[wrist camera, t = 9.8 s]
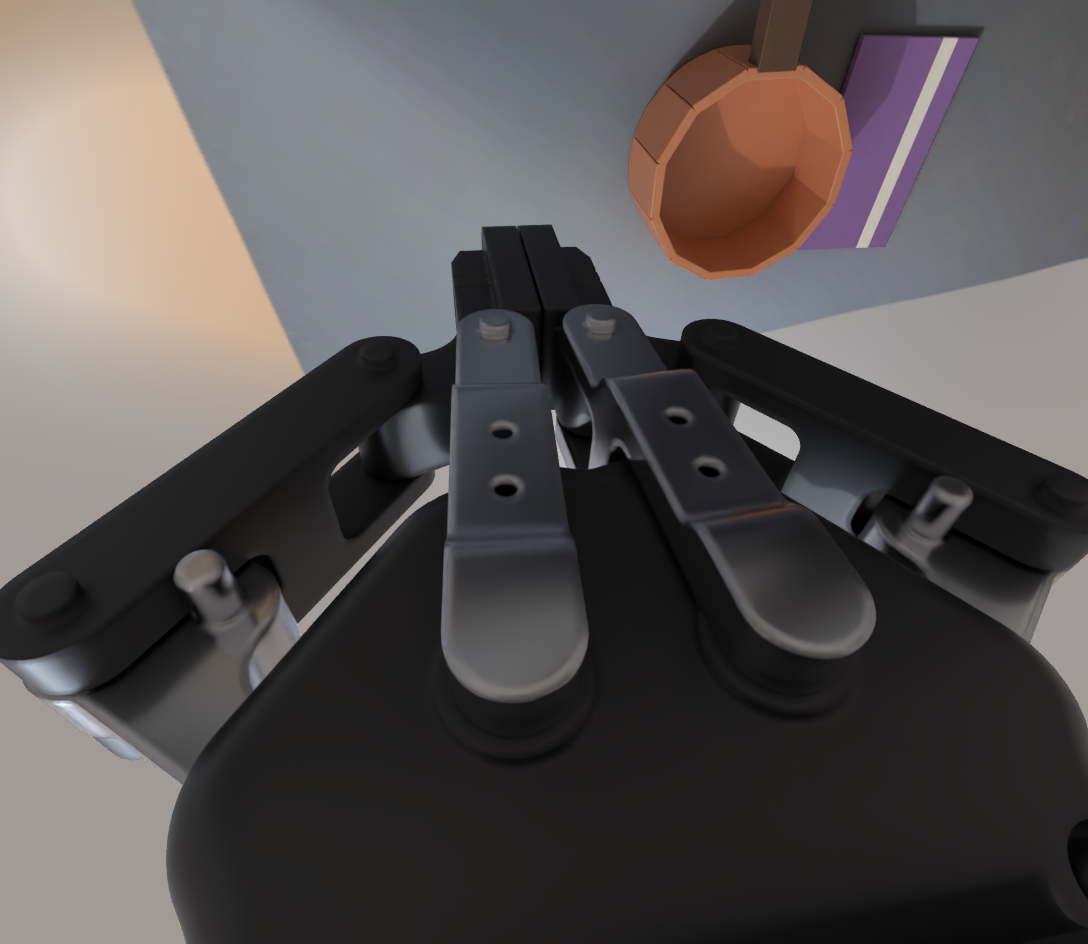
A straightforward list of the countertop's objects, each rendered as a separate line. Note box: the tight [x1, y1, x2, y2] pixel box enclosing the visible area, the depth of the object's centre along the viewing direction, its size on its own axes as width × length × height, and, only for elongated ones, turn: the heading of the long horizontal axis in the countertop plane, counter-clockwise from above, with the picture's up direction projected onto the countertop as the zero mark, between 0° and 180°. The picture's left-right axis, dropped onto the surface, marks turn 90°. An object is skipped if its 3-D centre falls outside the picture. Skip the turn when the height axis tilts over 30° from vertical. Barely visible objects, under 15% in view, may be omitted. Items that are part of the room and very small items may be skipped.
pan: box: [629, 0, 853, 280], centre depth 29 cm, size 17×10×5 cm, turn 1°
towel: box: [797, 34, 979, 250], centre depth 34 cm, size 11×6×1 cm, turn 178°
